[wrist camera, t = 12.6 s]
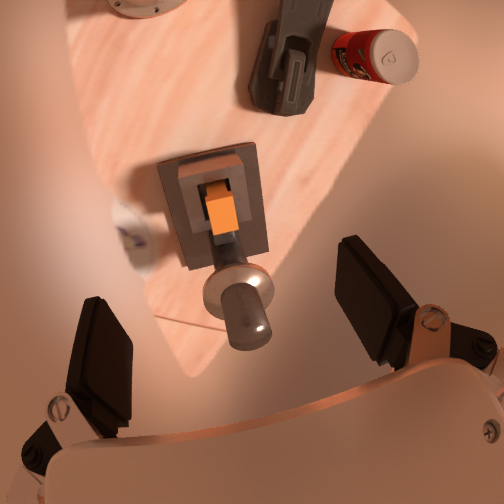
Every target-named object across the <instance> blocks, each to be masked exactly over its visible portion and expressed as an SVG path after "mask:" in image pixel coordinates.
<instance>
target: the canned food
mask: <svg viewBox="0 0 504 504" xmlns="http://www.w3.org/2000/svg"><path fill="white" fill-rule="evenodd" d="M332 59H333V62H334V64H335V66H336V67H337V69H338V70H339V71H340V72H342V73H343V74H345V75H346V76H348V77H351V78H355V79H362V80H368V81H374V82H380V83H385V84H391V85H405V84H407V83H409V82H411V81H412V80H413V79H414V78H415V76H416V74H417V72H418V69H419V53H418V50H417V48H416V46H415V44H414V42H413V41H412V40H411V39H410V37H409V36H407V35H406V34H405V33H403V32H401V31H398V30H393V29H382V30H370V31H361V32H353V33H347V34H344V35H342V36H341V37H339V38H338V39H337V40H336V41H335V43H334V45H333V47H332Z"/></svg>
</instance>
